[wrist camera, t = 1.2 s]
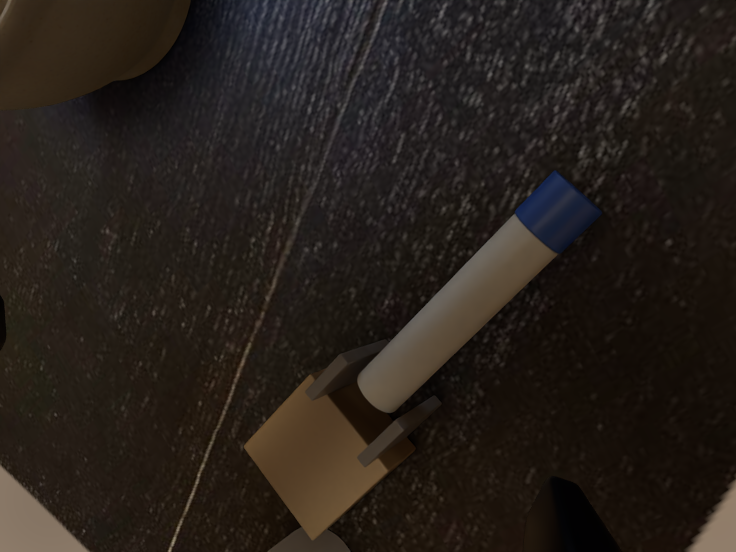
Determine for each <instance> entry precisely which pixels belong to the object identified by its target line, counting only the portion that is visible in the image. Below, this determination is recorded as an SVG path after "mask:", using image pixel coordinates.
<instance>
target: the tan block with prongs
mask: <svg viewBox="0 0 736 552" xmlns="http://www.w3.org/2000/svg"><path fill="white" fill-rule="evenodd" d="M388 343H389V342H388V341H387V340H386V339H384V340H381V341H378V342H375V343H372V344H369V345H366V346H363V347H360V348H357V349H354V350H351V351H348V352H345V353H342V354H339V355H338V356H337V358H336V359H335V360H334V361H333V362H332V363H331V364H330V365H329V366H328V367H327V368H326V369H323V370H321V371H318V372H315V373H312V374H310V375H309V376H308V377H307V378H306V379H305V380H304V381H303V382H302V383H301V384H300V385H299V386H298V388H297V389H296V390H295V391H294V392H293V393H292V394H291V395H290V396H289V397H288V398H287V399H286V401H285V402H284V403H283V404H282V405H281V406H280V407H279V408H278V409H277V410H276V411H275V412H274V413H273V415H272V416H271V417H270V418H269V419H268V420H267V421H266V422H265V423H264V424H263V425H262V426H261V428H260V429H259V430H258V431H257V432H256V433H255V434H254V435H253V436H252V437H251V438H250V439H249V440H248V442H247V443H246V444H245V445H244V448H245V450H246V451H247V452H248V454H249V455H250V456H251V458H252V459H253V461H254V462H255V463H256V465H257V466H258V467H259V469H260V470H261V472H262V473H263V474H264V476H265V477H266V478H267V480H268V481H269V482H270V484H271V485H272V487H273V488H274V489H275V491H276V492H277V493H278V495H279V496H280V498H281V499H282V500H283V502H284V503H285V504H286V506H287V507H288V508H289V510H290V511H291V513H292V514H293V515H294V517H295V518H296V519H297V521H298V522H299V523H300V525H301V526H302V528H303V529H304V530H305V532H306V533H307V534H308V536H309V537H310V539H311V540H315V539H316V538H317V537H318V536H320V535H321V534H322V533H323V532H324V531H326V530H327V529H328V528H329V527H330V526H332V525H333V524H334V523H335V522H336V521H338V520H339V519H340V518H341V517H342V516H343V515H345V514H346V513H347V512H348V511H349V510H350V509H351V508H352V507H354V506H355V505H356V504H357V503H358V502H359V501H360V500H361V499H362V498H363V497H365V496H366V495H367V494H368V493H369V492H370V491H371V490H372V489H373V488H374V487H376V486H377V485H378V484H379V483H380V482H381V481H382V480H383V479H384V478H385V477H386V476H388V475H389V474H390V473H391V472H392V471H393V470H394V469H395V468H396V467H397V466H399V465H400V464H401V463H402V462H403V461H404V460H405V459H406V458H407V457H408V456H409V455H411V454H412V453H413V452H414V451H415V450H416V447H415V446H414V445H413V444H412V443H411V441H410V440H409V439H408V438H407V436H408V435H409V434H411V433H412V432H413V431H414V430H415V429H416V428H417V427H418V426H419V425H420V424H421V423H422V422H423V421H425V420H426V419H427V418H428V417H429V416H430V415H431V414H432V413H433V412H434V411H435V410H436V409H437V408H438V407H440V406H441V405H442V403H441V402H440V400H439V399H438V398H437V397H436V396H435V395H434V396H432V397H430V398H429V399H427V400H426V401H424V402H423V403H421V404H420V405H418V406H416V407H415V408H413V409H412V410H410V411H409V412H407V413H406V414H404V415H403V416H401V417H399V418H398V419H396V420H395V421H393V420H392V419H391V417H390V416H389V415H388V414H387V413H386V412H383V411H381V410H379V409H377V408H376V407H375V406H373V405H372V404H371V403H370V402H369V401H368V400H367V399H366V398H365V396H364V395H363V394H362V392H361V390H360V388H359V386H358V382H357V378H358V375H359V373H360V372H361V371H362V370H363V369H364V368H365V367H366V366H367V365H368V364H369V363H370V362H371V361H372V360H373V359H374V358H375V357H376V356H377V355H378V354H379V353H380V352H381V351H382V350H383V349H384V348H385V347H386V346H387V344H388Z"/></svg>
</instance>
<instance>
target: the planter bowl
mask: <svg viewBox="0 0 736 552" xmlns="http://www.w3.org/2000/svg"><path fill="white" fill-rule="evenodd" d="M190 2H191V0H0V110H18V109H29V108H37V107H43V106H48V105H53V104H58V103H61V102H65V101H68V100H71V99H74V98H77V97H80V96H83V95H85V94H88V93H91V92H93V91H95V90H97V89H99V88H101V87H103V86H105V85H107V84H109V83H111V82H112V81H114V80H127V79H131V78H134V77H137V76H139V75H141V74H144V73H145V72H147V71H148V70H150V69H151V68H153V67H154V66H155V65H156V64H157V63H159V61H160V60H161V59H162V58H163V57H164V56H165V55H166V54H167V52H168V51H169V50H170V48H171V47H172V46H173V44H174V42H175V41H176V39H177V37H178V35H179V33H180V31H181V29H182V27H183V24H184V22H185V19H186V17H187V13H188V10H189V6H190Z"/></svg>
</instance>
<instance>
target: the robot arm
mask: <svg viewBox="0 0 736 552" xmlns="http://www.w3.org/2000/svg"><path fill="white" fill-rule="evenodd" d="M5 340H6V323H5V309H4V301H3V299H2V297H1V296H0V350H1V349H2V347H3V345H4V343H5ZM523 552H622V551H621V549H620V548H619V546H618V545H617V543H616V541H615V540H614V538H613V537H612V535H611V534H610V532H609V531H608V529H607V528H606V526H605V525H604V523H603V522H602V520H601V519H600V517H599V516H598V514H597V513H596V511H595V510H594V508H593V507H592V505H591V504H590V502H589V501H588V499H587V498H586V496H585V495H584V493H583V492H582V490H581V489H580V487H579V486H578V485H577V484H575V483H573V482H571V481H568V480H565V479H561V478H558V477H555V476H551V477H549V478H548V479H547V480H546V481H545V482H544V484H543V486H542V488H541V490H540V492H539V494H538V495H537V497H536V499H535V501H534V503H533V505H532V507H531V509H530V511H529V513H528V516H527V520H526V524H525V533H524V544H523Z"/></svg>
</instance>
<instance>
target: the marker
mask: <svg viewBox="0 0 736 552" xmlns="http://www.w3.org/2000/svg"><path fill="white" fill-rule="evenodd" d="M601 214H602V212H601V210H600V209H599V208H598V207H597V206H595V205H594V204H593V203H592V202H591V201H590V200H589V199H588V198H587V197H586V196H585V195H584V194H583V193H581V192H580V191H579V190H578V189H577V188H576V187H575V186H574V185H573V184H571V183H570V182H569V181H568V180H567V179H566V178H565V177H563V176H562V175H561V174H560V173H559V172H558V171H553V172H552V173H551V174H550V175H549V176H548V177H547V178H546V179H545V181H544V182H543V183H542V184H541V185H540V186H539V187H538V188H537V189H536V190H535V191H534V192H533V193H532V194H531V195H530V196H529V197H528V198H527V199H526V200H525V201H524V202H523V203H522V204H521V205H520V206H519V207H518V208H517V209H516V211H515V214H514V215H513V216H512V217H511V218H510V219H509V220H508V221H507V222H506V223H505V224H504V225H503V226H502V227H501V228H500V229H499V230H498V231H497V232H496V233H495V234H494V235H493V236H492V237H491V238H490V239H489V240H488V241H487V242H486V243H485V245H484V246H483V247H482V248H481V249H480V250H479V251H478V252H477V253H476V254H475V255H474V256H473V257H472V258H471V259H470V260H469V261H468V262H467V263H466V264H465V265H464V266H463V267H462V268H461V269H460V270H459V271H458V272H457V273H456V274H455V275H454V276H453V278H452V279H451V280H450V281H449V282H448V283H447V284H446V285H445V286H444V287H443V288H442V289H441V290H440V291H439V292H438V293H437V294H436V295H435V296H434V297H433V298H432V299H431V300H430V301H429V302H428V303H427V304H426V305H425V306H424V307H423V308H422V309H421V310H420V312H419V313H418V314H417V315H416V316H415V317H414V318H413V319H412V320H411V321H410V322H409V323H408V324H407V325H406V326H405V327H404V328H403V329H402V330H401V331H400V332H399V333H398V334H397V335H396V336H395V337H394V338H393V339H392V340H391V341H390V342H389V343H388V344H387V346H386V347H385V348H384V349H383V350H382V351H381V352H380V353H379V354H378V355H377V356H376V357H375V358H374V359H373V360H372V361H371V362H370V363H369V364H368V365H367V366H366V367H365V368H364V369H363V370H362V371H361V372H360V373H359V375H358V378H357V382H358V386H359V388H360V390H361V392H362V394H363V395H364V396H365V398H366V399H367V400H368V401H369V402H370V403H371V404H372V405H373V406H375V407H376V408H377V409H379V410H381V411H383V412H386V413H392V412H395V411H396V410H397V409H398V408H399V407H400V406H401V405H402V404H403V403H404V402H405V401H406V400H407V399H408V398H409V397H410V396H411V395H412V394H414V393H415V392H416V391H417V390H418V389H419V388H420V387H421V386H422V385H423V384H424V383H425V382H426V381H427V380H428V379H429V378H430V377H431V376H432V375H433V374H434V373H435V372H436V371H437V370H438V369H439V368H441V367H442V366H443V365H444V364H445V363H446V362H447V361H448V360H449V359H450V358H451V357H452V356H453V355H454V354H455V353H456V352H457V351H458V350H459V349H460V348H461V347H462V346H463V345H464V344H465V343H466V342H467V341H469V340H470V339H471V338H472V337H473V336H474V335H475V334H476V333H477V332H478V331H479V330H480V329H481V328H482V327H483V326H484V325H485V324H486V323H487V322H488V321H489V320H490V319H491V318H492V317H493V316H494V315H495V314H497V313H498V312H499V311H500V310H501V309H502V308H503V307H504V306H505V305H506V304H507V303H508V302H509V301H510V300H511V299H512V298H513V297H514V296H515V295H516V294H517V293H518V292H519V291H520V290H521V289H522V288H523V287H525V286H526V285H527V284H528V283H529V282H530V281H531V280H532V279H533V278H534V277H535V276H536V275H537V274H538V273H539V272H540V271H541V270H542V269H543V268H544V267H545V266H546V265H547V264H548V263H549V262H550V261H551V260H553V259H554V258H555V257H556V256H557V255H558V253H559V254H560V253H562V252H563V251H564V250H565V249H566V248H567V247H568V246H569V245H570V244H571V243H572V242H573V241H574V240H575V239H577V238H578V237H579V236H580V235H581V234H582V233H583V232H584V231H585V230H586V229H587V228H588V227H589V226H590V225H591V224H592V223H593V222H594V221H595V220H596V219H597V218H598V217H599V216H600V215H601Z"/></svg>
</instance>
